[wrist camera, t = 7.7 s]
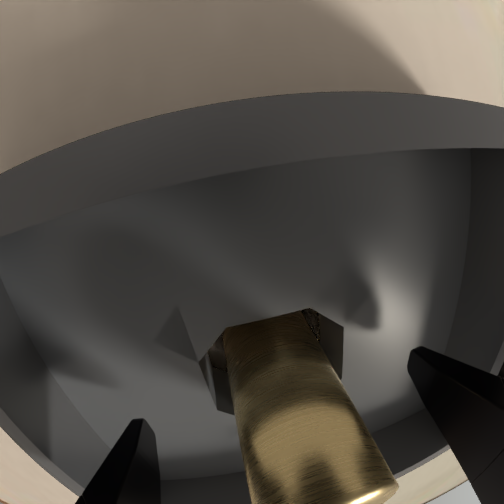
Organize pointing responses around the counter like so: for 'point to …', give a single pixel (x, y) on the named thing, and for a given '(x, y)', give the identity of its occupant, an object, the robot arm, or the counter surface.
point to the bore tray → (246, 272)
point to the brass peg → (299, 419)
